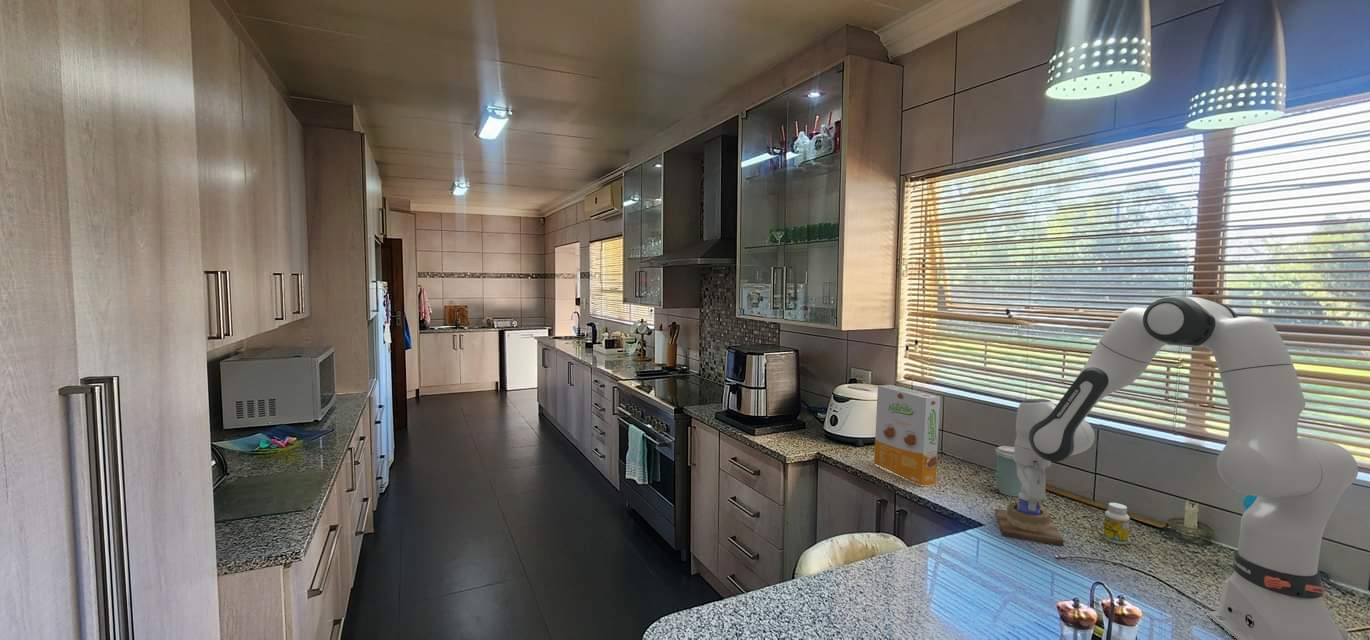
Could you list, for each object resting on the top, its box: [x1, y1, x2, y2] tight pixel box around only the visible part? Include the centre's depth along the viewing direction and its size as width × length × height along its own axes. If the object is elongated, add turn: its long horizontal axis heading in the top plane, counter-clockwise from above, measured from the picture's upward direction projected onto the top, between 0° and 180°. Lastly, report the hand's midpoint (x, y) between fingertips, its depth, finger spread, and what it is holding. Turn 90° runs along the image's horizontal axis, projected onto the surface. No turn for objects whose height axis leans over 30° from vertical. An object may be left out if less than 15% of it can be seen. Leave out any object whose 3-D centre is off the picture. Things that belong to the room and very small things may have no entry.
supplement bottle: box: [1102, 502, 1131, 545], centre depth 154 cm, size 5×5×10 cm
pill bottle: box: [1017, 485, 1041, 515], centre depth 160 cm, size 5×5×10 cm
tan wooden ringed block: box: [994, 502, 1065, 547], centre depth 160 cm, size 16×14×6 cm
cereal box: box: [873, 384, 941, 485], centre depth 201 cm, size 22×6×30 cm, turn 24°
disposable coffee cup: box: [994, 445, 1022, 498], centre depth 187 cm, size 11×11×15 cm
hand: (1029, 505), depth 160 cm, fingers closed on pill bottle, 5 cm apart
